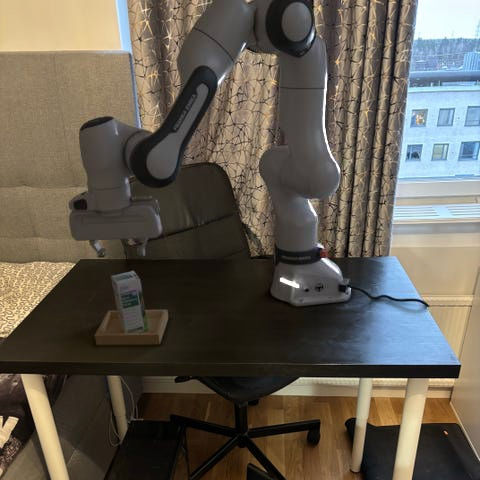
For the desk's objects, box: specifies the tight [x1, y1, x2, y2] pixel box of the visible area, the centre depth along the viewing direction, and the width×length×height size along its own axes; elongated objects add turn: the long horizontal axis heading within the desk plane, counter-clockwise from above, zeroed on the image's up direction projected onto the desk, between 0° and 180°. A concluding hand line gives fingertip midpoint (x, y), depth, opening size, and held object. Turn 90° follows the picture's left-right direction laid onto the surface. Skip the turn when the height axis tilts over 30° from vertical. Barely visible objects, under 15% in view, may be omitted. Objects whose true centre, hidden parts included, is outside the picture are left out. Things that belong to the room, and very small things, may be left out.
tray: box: [94, 309, 169, 346], centre depth 125 cm, size 16×13×3 cm
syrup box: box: [110, 270, 148, 334], centre depth 122 cm, size 6×6×14 cm
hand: (121, 256), depth 115 cm, fingers open, 8 cm apart
